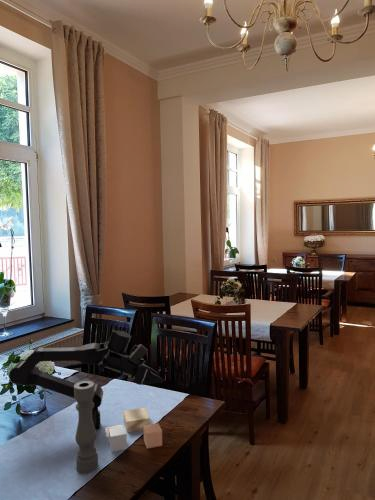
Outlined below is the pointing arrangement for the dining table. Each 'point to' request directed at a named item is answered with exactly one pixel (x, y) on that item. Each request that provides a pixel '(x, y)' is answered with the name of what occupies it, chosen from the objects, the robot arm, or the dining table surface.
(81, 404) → the candle holder
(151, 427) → the terracotta block
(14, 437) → the dining table surface
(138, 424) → the maple base block
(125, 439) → the white cube
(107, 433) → the card
